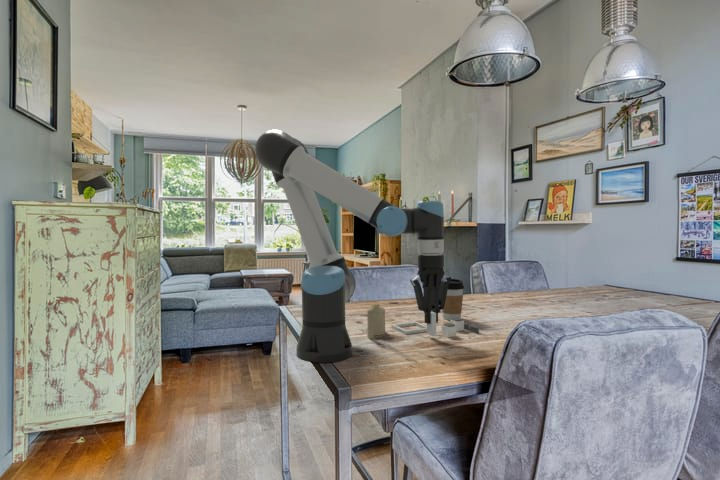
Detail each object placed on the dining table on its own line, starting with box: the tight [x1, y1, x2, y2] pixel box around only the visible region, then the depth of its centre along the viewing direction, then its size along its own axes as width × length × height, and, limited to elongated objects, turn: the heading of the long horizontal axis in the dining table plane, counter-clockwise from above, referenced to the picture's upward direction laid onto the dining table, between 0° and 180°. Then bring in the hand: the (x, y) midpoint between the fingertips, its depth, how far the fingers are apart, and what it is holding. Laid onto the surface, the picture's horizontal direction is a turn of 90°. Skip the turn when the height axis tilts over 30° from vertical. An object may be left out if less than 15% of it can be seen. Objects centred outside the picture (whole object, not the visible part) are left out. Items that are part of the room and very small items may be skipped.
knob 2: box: [449, 317, 465, 332], centre depth 129 cm, size 3×3×4 cm
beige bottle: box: [366, 304, 386, 340], centre depth 128 cm, size 6×6×10 cm
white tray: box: [390, 321, 480, 339], centre depth 129 cm, size 22×18×3 cm
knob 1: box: [441, 322, 457, 338], centre depth 123 cm, size 3×3×4 cm
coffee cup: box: [441, 278, 465, 321], centre depth 145 cm, size 8×8×15 cm
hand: (431, 334), depth 120 cm, fingers closed
